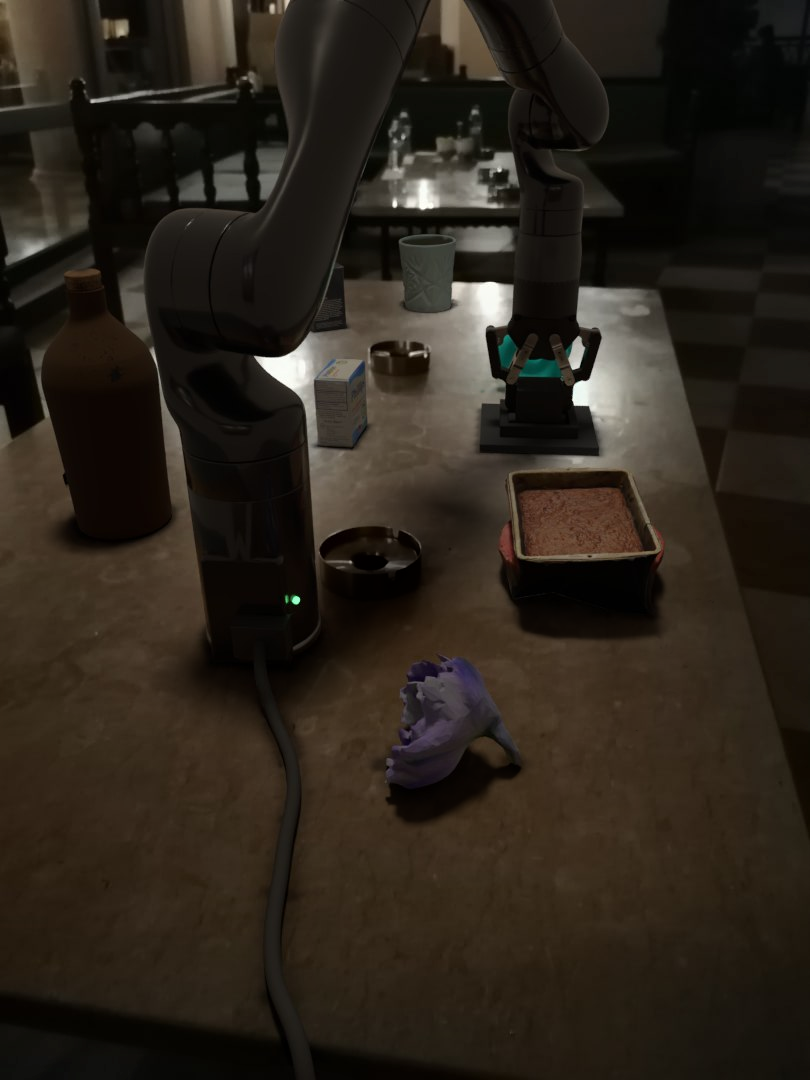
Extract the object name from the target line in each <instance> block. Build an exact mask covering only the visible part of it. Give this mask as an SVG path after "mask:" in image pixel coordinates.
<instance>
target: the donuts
mask: <svg viewBox="0 0 810 1080" xmlns="http://www.w3.org/2000/svg"><path fill="white" fill-rule="evenodd" d="M506 325H508V323H507V324H506ZM573 343H574V342H573ZM573 343H572V344H571V345H570V346H569V348H568V349H567V350H566V353H567V356H568V359H569V358H570V356H571V353H572V350H573V345H574V344H573ZM498 347H499V354H500V360H501V366H503V367H506V368H509V366H510V364H511V362H512V359H513V356H514V354H515V352H516V350H517V347H516V345H515V344H514V342H513V341H512V339H511V338H510V336H509V335H506V336H505V337H504V342H503V344H502V345H501V346H498ZM519 376H526V377H561V379H563V376H562V373H561V370H560V368H559V365H558V363H557V360H556V359H555V361H551V360H545V359H538V360H529V359H528V360H527V362H526V364H525V366H524V368H523V369H522V370H521V372H520V374H519Z"/></svg>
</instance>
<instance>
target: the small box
mask: <svg viewBox="0 0 810 1080" xmlns="http://www.w3.org/2000/svg"><path fill="white" fill-rule="evenodd" d="M346 312H347V311H346V295H345V266H344V265H342V264H340V263H338V262H337V261H336V262H335V266H334V269H333V273H332V276H331V279H330V282H329V286H328V289H327V292H326V295H325V298H324V301H323V304H322V307H321V309H320V312H319V314H318V316H317V319H316V321H315V323H314V325H313V327H312V329H311V331H312V332H314V333H317V332H324V331H331V330H340V329H346V328H347V327H348V325H347V323H348V322H347V313H346Z"/></svg>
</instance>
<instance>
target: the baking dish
mask: <svg viewBox="0 0 810 1080" xmlns="http://www.w3.org/2000/svg"><path fill="white" fill-rule="evenodd" d="M504 487H505V491H506V496H507V500H508V509H509V515H510V519H509V521H507V522H506V524H504V526H503V528H502V529H501V530H500V536H499V541H498V544H497V548H498V549H497V550H498V553H499V555H500V557H501V561H502V565H503V569H504V571H505V574H506V577H507V581H508V585H509V590H510V594H511V598H512V600H516V599H521V598H527V597H532V596H533V597H534V596H540V595H547V594H555V595H558V596H562V597H565V598H568V599H571V600H575V601H578V602H581V603H584V604H587V605H589V606H590V605H591V606H594V607H597V608H600V609H604V610H606V611H610V612H612V613H618V614H630V615H640V616H641V615H642V616H652V615H653V607H652V602H651V600H652V590H653V586H654V581H655V576H656V573H657V570H658V568H659V566H660V565H661V563H662V560H663V559H664V555H665V554H664V553H665V541H664V539H663V536H662V535H661V533H660V531H659V530H658V529H657V528H656V527H655V526H654V525H653V523H652V520H651V518H650V516H649V513H648V511H647V508H646V505H645V502H644V499H643V497H642V495H641V493H640V492H641V491H640V490H639V488H638V485H637V482H636V480H635V477H634V475H633V474H632V472H631V471H629V470H627V469H624V468H621V467H618V468H617V467H615V468H613V467H612V468H611V467H607V468H606V467H549V468H537V469H519V470H515V471H512V472H509V473H508V474H507V475H506V477H505V485H504Z"/></svg>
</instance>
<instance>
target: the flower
mask: <svg viewBox="0 0 810 1080" xmlns="http://www.w3.org/2000/svg"><path fill="white" fill-rule="evenodd" d="M435 655H436V656H437V657H438V659H439V660H440V664H438V663H435V662H431V660H427V659H426V658H423V659H421V662H413V663H412V665H411V667H410V668H409V670H408V671H407V673H406V674H405V676H406V678H407V682H406V684H405V686H403V687H400V688H399V699H401V700H402V701H403V702H402V703H403V706H404V707H403V709H402V712H401V717H400V724H405V725H406V726H408V727H409V730H406V729H404V728H402V727H401V728H399V729H397V734H398V737H399V740H400V742H401V744H402V745H392V747H391V754H392V758H391V757H390V758H389V757H387V758H386V760H385V765H386V767H388V769H387V770H386V771H385V777H386V780H385V781H384V784H396V785H400V786H401V787H403V788H405V789H407V790H416V789H419V788H424V787H426V786H430V785H433V784H435V783H438V782H441V781H442V780H444V779H445V778H446V777H448V776H449V775H450V774H452V772H453V771H454V770H455V768H457V766H458V764H459V762H460V760H461V759H462V757H463V755H464V753H465V751H466V749H467V748H468V747H470V744H471V743H473V742H474V741H476V740H478V739H479V738H484V737H485V738H488V739H490V740H493V741H494V742H495V743H496V744H498V745H499V746H500V747H501V748H502V750H503V751H504V753H505V755H506V757H507V760H508V762H509V763H511V764H513V765H514V766H518V765H519V764H520V762H521V761H522V756H521V751H520V749H519V747H518V746H517V744H516V742H515V741H514V739H513V737H512V736H511V734H510V732H509V731H508V730H507V728H506V725H505V724H504V721H503V717H502V714H501V711H500V710H499V708H498V707H497V705H496V703H495V701H494V700H493V697H492V696H491V695H490V692H489V691H488V689H487V688H486V684H485V679H484V676H483V674H482V673H481V672H480V670H479V669H478V668H477V667H476V666H475V665H474V664H473V663H472V662H470V661H469V660H468V659H466V658H463V657H461V656H455V657H451V659H450V658H448V657H446V656H444V655H441V654H438V653H436V652H435Z"/></svg>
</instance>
